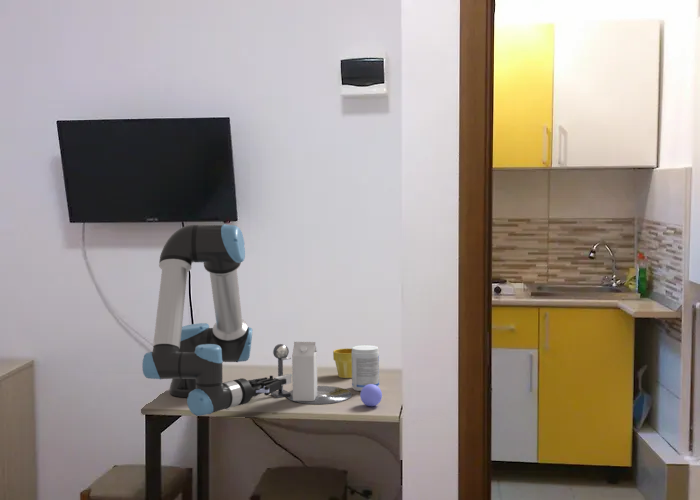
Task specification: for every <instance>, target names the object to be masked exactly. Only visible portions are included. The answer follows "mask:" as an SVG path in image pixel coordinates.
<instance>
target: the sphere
mask: <svg viewBox="0 0 700 500" xmlns="http://www.w3.org/2000/svg"><path fill="white" fill-rule="evenodd" d="M359 393H360V395H359V396H360V400H361V401H362V403H363V405H365V406H367V407H376V406H377V405H379V403H380V402H381V401H382V399H383V392H382V390H381V388H380V386H379V387H378V386H376V385H374V384H368V385H366V386H364V387H363V388H362V390H361V391H360V392H359Z"/></svg>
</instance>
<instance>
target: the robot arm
mask: <svg viewBox="0 0 700 500" xmlns="http://www.w3.org/2000/svg"><path fill="white" fill-rule="evenodd" d="M243 235H244V234H243V232H242V229H241V228H240V227H239V226H237V225H234V224H225V223H224V224H219V225H218V224H189V225H185V226H183V227H180V228H179V229H177V230H176V231H175V232H174V233H173V234H171V236H170V237H169V238H168V239H167V241H166V242H165V244H164V245H163V247H162V250H161V252H160V256H159V264H158V267H159V268H160V270H161V275H160V285H159V291H158V300H157V301H158V302H157V310H156V319H155V326H154V327H155V328H154V337H153V345H152V351H149V352H146V353H145V354H143V359H142V364H141V365H142V374H143V376H144V377H145V378H146V379H153V380H168V379H169V380H171V383H170V386H169V393H170V395H171V396H174V397H177V398H178V397H179V398H187V399H186V403H187V407H188V410H189V412H191V414H192V415H195V416H197V417H198V416H199V417H200V416H201V417H202V416H205V415H211V414H213V413H216V412H217V413H218V412H220V411H223V410H226V411H228V410H230V408H234V407H236V406H241V405H245V404H248V403H249V402H250V401H251V400H252V398H253V397H257V396H258V395H261V394H263V395H264V396H269V395H271V393H272V392H275V391H278V390H279V389H281V388H282V385H283V386H285V385H290V384H292V374H290V373H287V374H283V376H279V377H278V376H276V377H274V375H269V378H268V377H260V378H255V379H249V380H247V379H246V378H238V379H233V380H228V381H225V382H223V363H239V362H247V361H249V360H250V357H251V356H250V355H251V350H252V339H253V328H252V327H248V324H247V323H246V321H245V320H244V319H243V317H242V307H241V300H240V299H241V298H240V288H239V279H238V278H239V277H238V269H239V268H240V266H241V263H243V262H244V261H245V258H246V247H245V239H244V236H243ZM194 263H203V268H204V270H205V271H206V272H208V273H209V277H210V283H211V284H210V285H211V292H212V293H211V295H212V301H213V308H214V309H213V310H214V315H215V323H214V325H213V327H210V325H209V323H208V322H201V323H200V322H199V323H192V324H187V325H183V320H184V311H185V309H184V308H185V299H186V291H187V290H186V289H187V281H188V280H187V279H188V272H190V271H191V270H192V264H194Z"/></svg>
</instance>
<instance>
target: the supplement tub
mask: <svg viewBox="0 0 700 500" xmlns="http://www.w3.org/2000/svg"><path fill="white" fill-rule="evenodd" d="M351 349H352V378H351V385H352V386H351V387H352V388H351V389H353V390H354V391H356V392H361V390H362V388H363V387H364V386H366V385H368V384H374V385H376V386H378V387H379V388H380V353H379V351H380V350H379V347H378V346H377V345H372V344H371V345H370V344H368V345H367V344H365V345H364V344H362V345H361V344H360V345H355V346H352V347H351Z"/></svg>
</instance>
